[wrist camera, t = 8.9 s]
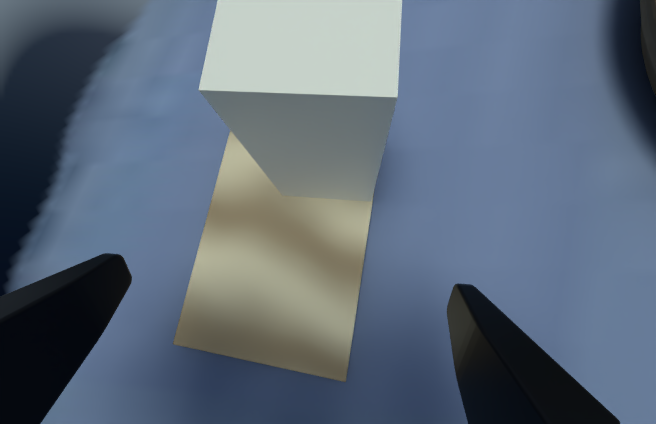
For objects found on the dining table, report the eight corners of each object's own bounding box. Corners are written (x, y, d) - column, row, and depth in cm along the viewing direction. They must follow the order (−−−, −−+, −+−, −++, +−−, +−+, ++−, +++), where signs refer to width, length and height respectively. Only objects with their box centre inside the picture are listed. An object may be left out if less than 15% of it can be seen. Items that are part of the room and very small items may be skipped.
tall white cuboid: (371, 201, 18) (397, 97, 8) (282, 195, 19) (198, 90, 8) (375, 133, 19) (403, -37, 9) (291, 130, 20) (225, -37, 9)
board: (345, 378, 16) (345, 382, 16) (178, 342, 18) (172, 344, 17) (380, 146, 19) (381, 142, 19) (235, 128, 21) (232, 124, 20)
